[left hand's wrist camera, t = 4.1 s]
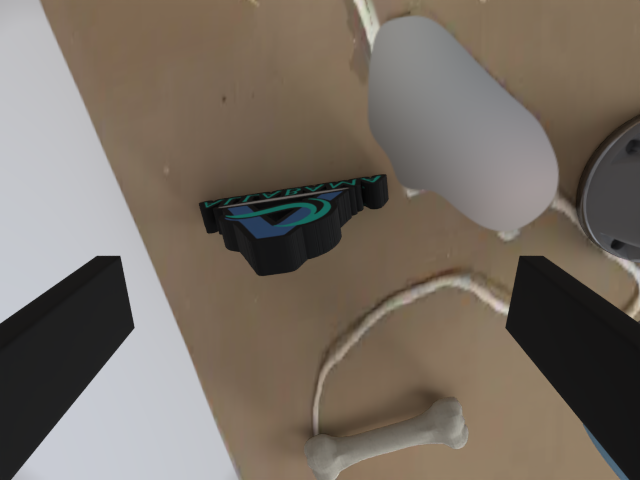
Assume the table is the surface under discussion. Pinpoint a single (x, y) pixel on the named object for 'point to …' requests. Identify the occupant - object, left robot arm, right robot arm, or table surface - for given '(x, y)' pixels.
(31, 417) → the left robot arm
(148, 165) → the table surface
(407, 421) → the dog toy
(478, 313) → the table surface
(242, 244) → the decorative sign
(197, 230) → the table surface
